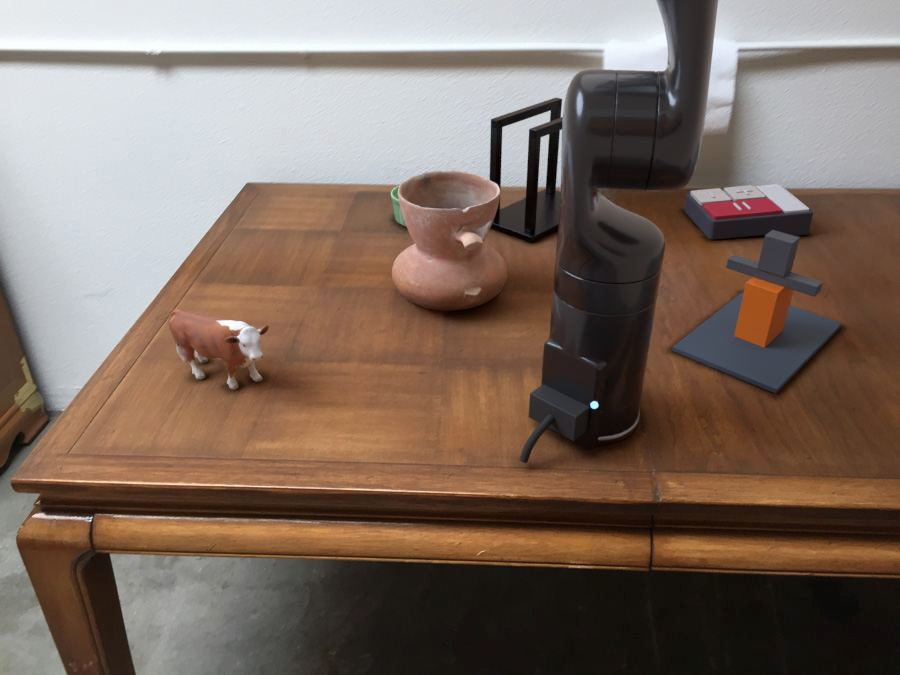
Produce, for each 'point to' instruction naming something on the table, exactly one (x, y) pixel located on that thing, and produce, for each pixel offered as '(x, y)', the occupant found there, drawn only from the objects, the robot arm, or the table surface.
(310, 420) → the table surface
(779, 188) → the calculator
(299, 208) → the table surface
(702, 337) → the mat
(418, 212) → the ceramic jug
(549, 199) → the rack
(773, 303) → the orange block with crossbar
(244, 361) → the bull figurine
